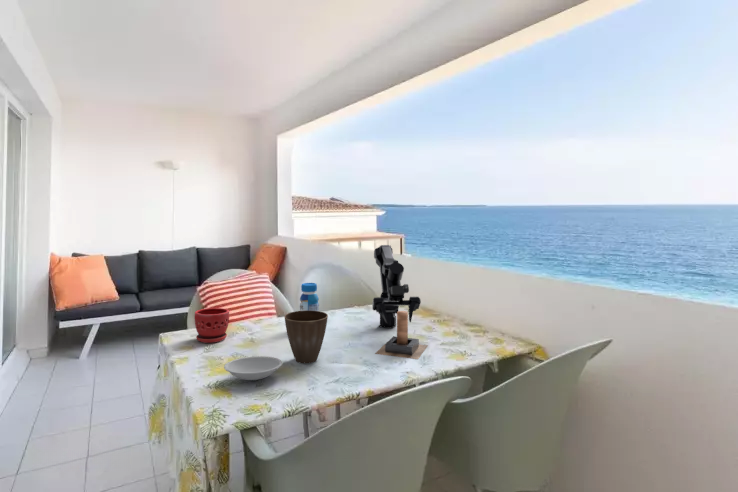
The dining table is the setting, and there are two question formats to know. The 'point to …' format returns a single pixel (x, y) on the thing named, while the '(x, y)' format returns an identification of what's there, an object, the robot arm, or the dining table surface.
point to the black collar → (402, 346)
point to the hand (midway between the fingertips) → (398, 322)
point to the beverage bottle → (309, 297)
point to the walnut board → (414, 356)
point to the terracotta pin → (402, 327)
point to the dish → (253, 367)
